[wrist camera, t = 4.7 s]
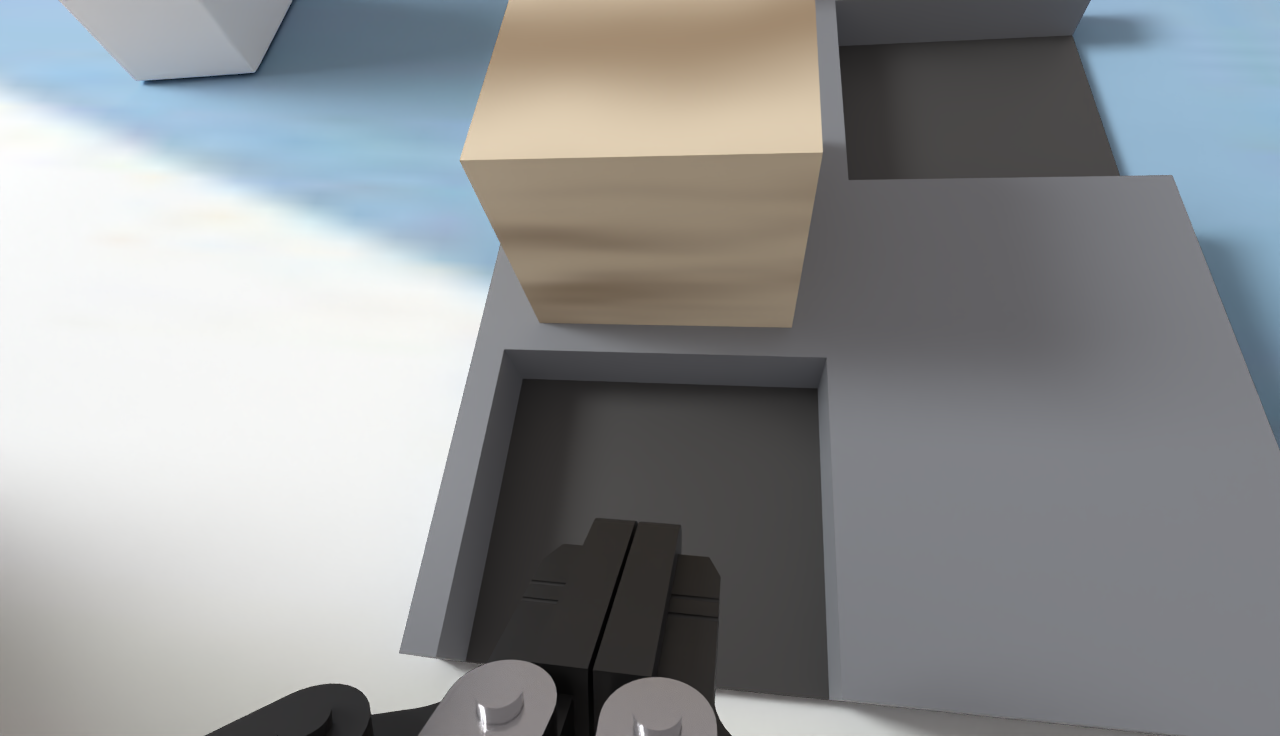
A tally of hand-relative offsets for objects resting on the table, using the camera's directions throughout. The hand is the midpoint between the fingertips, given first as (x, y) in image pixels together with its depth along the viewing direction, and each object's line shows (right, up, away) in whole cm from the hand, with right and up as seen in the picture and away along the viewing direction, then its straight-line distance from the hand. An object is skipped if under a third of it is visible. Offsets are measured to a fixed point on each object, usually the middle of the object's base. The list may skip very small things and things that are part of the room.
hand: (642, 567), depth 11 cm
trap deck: (+6, +7, +12) cm, 15 cm away
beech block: (+1, +8, +11) cm, 14 cm away
